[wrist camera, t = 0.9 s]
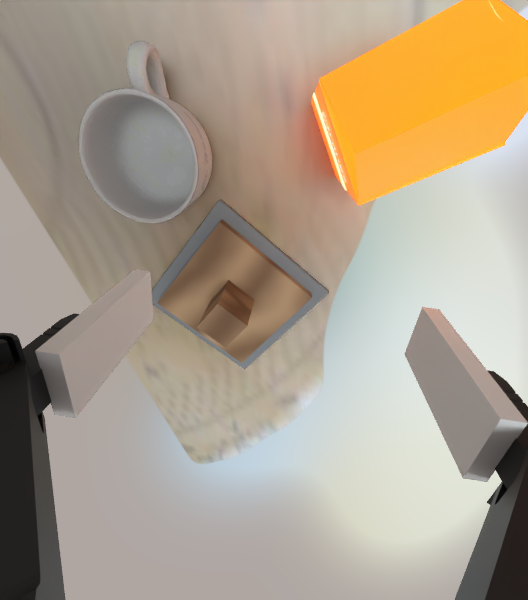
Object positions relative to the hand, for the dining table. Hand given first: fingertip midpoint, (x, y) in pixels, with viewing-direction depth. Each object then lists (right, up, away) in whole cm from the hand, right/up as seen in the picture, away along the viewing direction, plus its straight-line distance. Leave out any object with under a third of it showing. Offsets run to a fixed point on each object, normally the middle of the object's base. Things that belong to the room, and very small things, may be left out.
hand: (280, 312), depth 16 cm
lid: (-5, +1, +25) cm, 26 cm away
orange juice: (+9, +18, +16) cm, 26 cm away
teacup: (-10, +18, +18) cm, 27 cm away
